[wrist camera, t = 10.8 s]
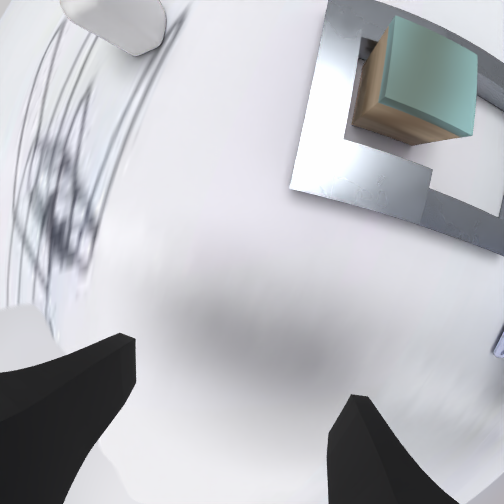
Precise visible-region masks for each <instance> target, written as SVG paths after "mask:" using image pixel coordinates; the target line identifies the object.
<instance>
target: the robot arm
mask: <svg viewBox="0 0 504 504" xmlns="http://www.w3.org/2000/svg"><path fill="white" fill-rule="evenodd" d="M494 355H495V356H496V357H502V358H504V332H503V334H502V336H501V338H500V340H499V342H498V344H497V346H496V348H495V350H494ZM135 384H136V353H135V338H132V337H130V336H127V335H124V334H122V333H118V334H116V335H113V336H111V337H108V338H106V339H104V340H101V341H99V342H97V343H94V344H92V345H90V346H87V347H85V348H83V349H80V350H78V351H75V352H73V353H71V354H68V355H65V356H62V357H60V358H57V359H54V360H51V361H48V362H45V363H42V364H39V365H36V366H32V367H28V368H24V369H20V370H15V371H10V372H2V373H0V504H63V503H64V500H65V498H66V496H67V493H68V491H69V489H70V487H71V485H72V483H73V481H74V479H75V477H76V475H77V473H78V471H79V469H80V467H81V466H82V464H83V462H84V460H85V458H86V456H87V455H88V453H89V452H90V450H91V449H92V447H93V446H94V444H95V443H96V442H97V440H98V439H99V438H100V436H101V435H102V434H103V432H104V431H105V430H106V428H107V427H108V426H109V424H110V423H111V422H112V420H113V419H114V418H115V416H116V415H117V414H118V412H119V411H120V410H121V408H122V407H123V405H124V404H125V402H126V400H127V399H128V397H129V395H130V393H131V391H132V389H133V387H134V386H135ZM327 476H328V499H329V504H459V503H458V502H457V501H455V500H454V499H453V498H452V497H450V496H449V495H448V494H447V493H445V492H444V491H443V490H442V489H441V488H440V487H439V486H438V485H437V484H436V483H435V482H434V481H433V480H432V479H431V478H430V477H429V476H428V475H427V474H426V473H425V472H424V471H423V470H422V469H421V468H420V467H419V465H418V464H417V463H416V462H415V461H414V459H413V458H412V457H411V456H410V455H409V453H408V452H407V451H406V449H405V448H404V447H403V445H402V444H401V443H400V441H399V440H398V439H397V437H396V436H395V435H394V433H393V432H392V430H391V429H390V427H389V426H388V424H387V423H386V422H385V420H384V419H383V417H382V416H381V414H380V413H379V411H378V410H377V408H376V407H375V406H374V404H373V403H372V401H371V400H370V399H369V397H367V396H359V395H352V394H351V396H350V398H349V399H348V401H347V403H346V405H345V406H344V408H343V410H342V412H341V413H340V415H339V417H338V418H337V420H336V422H335V423H334V425H333V427H332V428H331V430H330V431H329V435H328V447H327Z"/></svg>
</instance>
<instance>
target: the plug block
mask: <svg viewBox="0 0 504 504" xmlns="http://www.w3.org/2000/svg"><path fill="white" fill-rule="evenodd" d="M477 63H478V61H477V54H475V53H473V52H472V51H470V50H468V49H466V48H465V47H463V46H461V45H459V44H457V43H456V42H454V41H452V40H450V39H448V38H446V37H444V36H442V35H440V34H438V33H436V32H434V31H432V30H429V29H427V28H425V27H423V26H421V25H418V24H416V23H414V22H411V21H409V20H406V19H404V18H401V17H399V16H396V15H395V17H394V18H393V20H392V21H391V23H390V24H389V26H388V27H387V29H386V31H385V32H384V34H383V35H382V37H381V38H380V40H379V42H378V43H377V45H376V46H375V48H374V49H373V51H372V52H371V54H370V56H369V57H368V59H367V60H366V62H365V63H364V65H363V67H362V72H361V78H360V83H359V89H358V94H357V99H356V104H355V109H354V114H353V119H352V124H351V125H354V126H357V127H360V128H363V129H366V130H370V131H373V132H376V133H379V134H381V135H384V136H387V137H390V138H393V139H396V140H398V141H401V142H404V143H406V144H409V145H411V146H413V145H419V144H424V143H430V142H436V141H441V140H447V139H454V138H460V137H467V136H472V135H473V127H474V118H475V107H476V94H477Z"/></svg>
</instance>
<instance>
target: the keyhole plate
mask: <svg viewBox="0 0 504 504" xmlns="http://www.w3.org/2000/svg"><path fill="white" fill-rule="evenodd" d="M395 15H396V16H399V17H401V18H404V19H406V20H409V21H411V22H414V23H416V24H418V25H421V26H423V27H425V28H427V29H429V30H432V31H434V32H436V33H438V34H440V35H442V36H444V37H446V38H448V39H450V40H452V41H454V42H456V43H457V44H459V45H461V46H463V47H465V48H466V49H468V50H470V51H472V52H473V53H475V54H477V61H478V63H477V94H476V95H478V96H480V97H482V98H483V99H485V100H487V101H488V102H490V103H492V104H493V105H495V106H496V107H498V108H499V109H501V110H503V111H504V63H503V62H501V61H500V60H498V59H497V58H495V57H494V56H492V55H491V54H489V53H488V52H486V51H484V50H483V49H481V48H479V47H478V46H476V45H474V44H473V43H471V42H469V41H467V40H466V39H464V38H462V37H460V36H458V35H457V34H455V33H453V32H451V31H449V30H447V29H445V28H443V27H441V26H439V25H437V24H434V23H432V22H430V21H428V20H426V19H423V18H421V17H419V16H416V15H414V14H411V13H409V12H406V11H404V10H401V9H399V8H396V7H393V6H390V5H387V4H384V3H381V2H378V1H375V0H328V5H327V10H326V15H325V21H324V26H323V31H322V37H321V42H320V47H319V52H318V57H317V62H316V67H315V72H314V77H313V82H312V87H311V92H310V96H309V101H308V106H307V111H306V115H305V120H304V125H303V129H302V134H301V139H300V143H299V148H298V152H297V157H296V161H295V166H294V170H293V175H292V179H291V184H290V189H294V190H298V191H302V192H306V193H310V194H314V195H318V196H322V197H326V198H329V199H333V200H337V201H341V202H344V203H348V204H351V205H355V206H359V207H362V208H366V209H369V210H372V211H376V212H379V213H383V214H386V215H389V216H392V217H396V218H399V219H402V220H405V221H408V222H411V223H414V224H418V225H421V226H424V227H427V228H430V229H433V230H435V231H438V232H441V233H444V234H447V235H450V236H453V237H455V238H458V239H461V240H464V241H466V242H469V243H472V244H474V245H477V246H480V247H482V248H485V249H487V250H490V251H492V252H495V253H497V254H500V255H502V256H504V197H503V202H502V206H501V211H500V215H499V218H498V217H496V216H494V215H491V214H489V213H487V212H485V211H483V210H481V209H478V208H476V207H474V206H472V205H469V204H467V203H465V202H462V201H460V200H458V199H455V198H453V197H450V196H448V195H446V194H443V193H440V192H438V191H435V190H433V189H430V188H429V185H430V180H431V176H432V171H433V169H430V168H428V167H425V166H423V165H420V164H417V163H415V162H412V161H409V160H406V159H404V158H401V157H398V156H395V155H392V154H389V153H386V152H383V151H380V150H377V149H374V148H371V147H368V146H365V145H361V144H358V143H355V142H351V141H348V140H344V139H343V137H344V133H345V128H346V123H347V118H348V113H349V107H350V102H351V97H352V91H353V85H354V80H355V74H356V68H357V61H358V58H360V59H364V60H367V59H368V57H369V56H370V54H371V52H372V51H373V49H374V48H375V46H376V45H377V43H378V42H379V40H380V38H381V37H382V35H383V34H384V32H385V31H386V29H387V27H388V26H389V24H390V23H391V21H392V20H393V18H394V17H395Z"/></svg>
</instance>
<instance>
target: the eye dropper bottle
mask: <svg viewBox="0 0 504 504" xmlns="http://www.w3.org/2000/svg"><path fill="white" fill-rule="evenodd" d="M59 2H60V5H61V8H62V10H63V12H64V14H65V15H66V16H67V18H68V19H69V20H70V21H72V22H73V23H74V24H76V25H78V26H80V27H82V28H84V29H85V30H87V31H89V32H91V33H93V34H95V35H97V36H99V37H100V38H102V39H104V40H106V41H108V42H109V43H111V44H113V45H115V46H117V47H118V48H120V49H122V50H124V51H125V52H127V53H129V54H131V55H133V56H138V55H141V54H143V53H146V52H148V51H150V50H152V49H154V48H156V47H158V46H159V45H160V44H161V42H162V40H163V37H164V32H165V26H166V17H165V11H164V8H163V6H162V4H161V2H160V1H159V0H59Z"/></svg>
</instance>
